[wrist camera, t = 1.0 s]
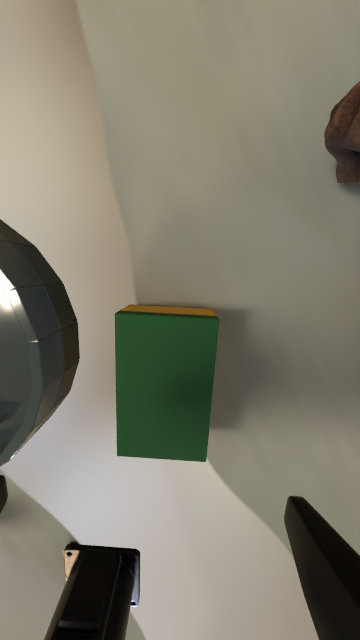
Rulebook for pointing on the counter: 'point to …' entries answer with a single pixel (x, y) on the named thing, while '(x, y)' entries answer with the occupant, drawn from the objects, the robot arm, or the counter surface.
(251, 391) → the counter surface
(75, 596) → the robot arm
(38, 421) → the bowl
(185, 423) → the sponge
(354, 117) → the pottery mug
